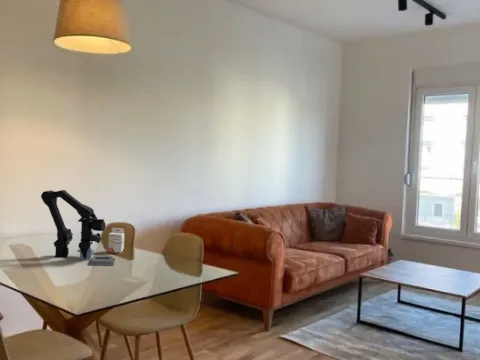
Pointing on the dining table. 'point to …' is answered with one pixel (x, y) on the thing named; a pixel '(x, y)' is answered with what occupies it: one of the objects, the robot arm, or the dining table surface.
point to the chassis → (102, 260)
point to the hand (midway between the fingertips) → (85, 256)
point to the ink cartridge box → (116, 240)
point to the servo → (87, 254)
